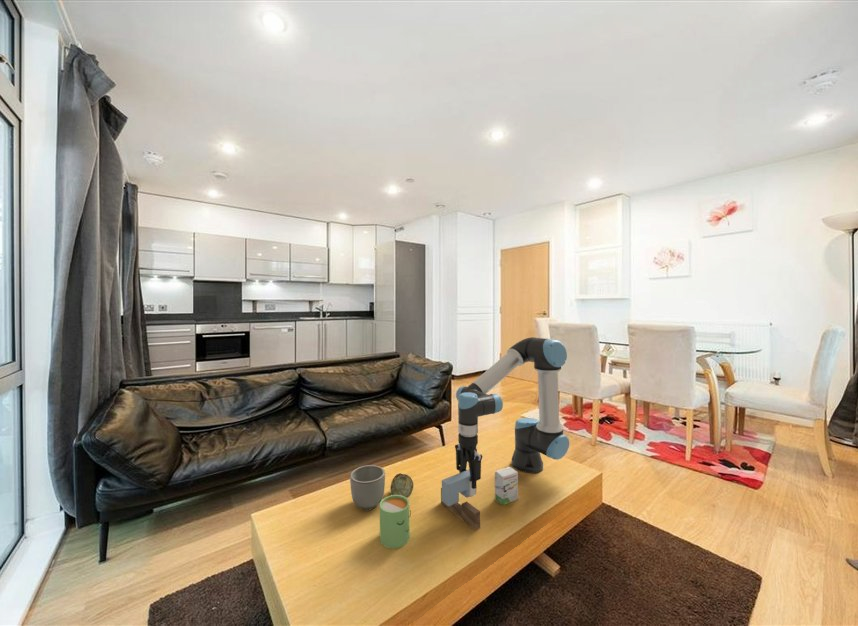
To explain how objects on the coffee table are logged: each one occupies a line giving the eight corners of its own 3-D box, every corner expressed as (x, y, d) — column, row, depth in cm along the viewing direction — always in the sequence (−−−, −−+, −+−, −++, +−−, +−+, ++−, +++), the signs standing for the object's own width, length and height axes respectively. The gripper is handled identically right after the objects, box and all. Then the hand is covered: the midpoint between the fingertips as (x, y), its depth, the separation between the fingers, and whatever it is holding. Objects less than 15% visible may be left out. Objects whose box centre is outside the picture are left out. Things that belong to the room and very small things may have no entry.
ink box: (502, 505, 130) (502, 476, 129) (494, 499, 134) (494, 471, 134) (518, 499, 134) (518, 471, 134) (510, 493, 138) (510, 466, 138)
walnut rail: (445, 500, 133) (445, 486, 133) (480, 527, 117) (480, 511, 117) (441, 502, 132) (441, 488, 132) (475, 530, 116) (475, 513, 116)
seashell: (418, 491, 140) (418, 468, 140) (408, 507, 129) (408, 482, 129) (396, 487, 144) (396, 464, 143) (384, 502, 133) (384, 477, 133)
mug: (398, 553, 105) (398, 516, 105) (374, 541, 111) (373, 506, 111) (419, 530, 116) (419, 497, 116) (396, 520, 122) (396, 488, 121)
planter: (391, 499, 134) (391, 468, 134) (372, 520, 122) (372, 486, 121) (364, 491, 140) (363, 462, 140) (343, 510, 127) (342, 477, 127)
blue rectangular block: (469, 488, 130) (469, 469, 130) (476, 493, 127) (476, 473, 127) (441, 501, 122) (441, 480, 122) (448, 506, 119) (448, 484, 119)
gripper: (446, 428, 131) (447, 485, 132) (476, 443, 117) (476, 507, 118) (460, 424, 136) (461, 480, 136) (490, 438, 122) (491, 499, 122)
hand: (468, 492), depth 127 cm, fingers closed on blue rectangular block, 4 cm apart
